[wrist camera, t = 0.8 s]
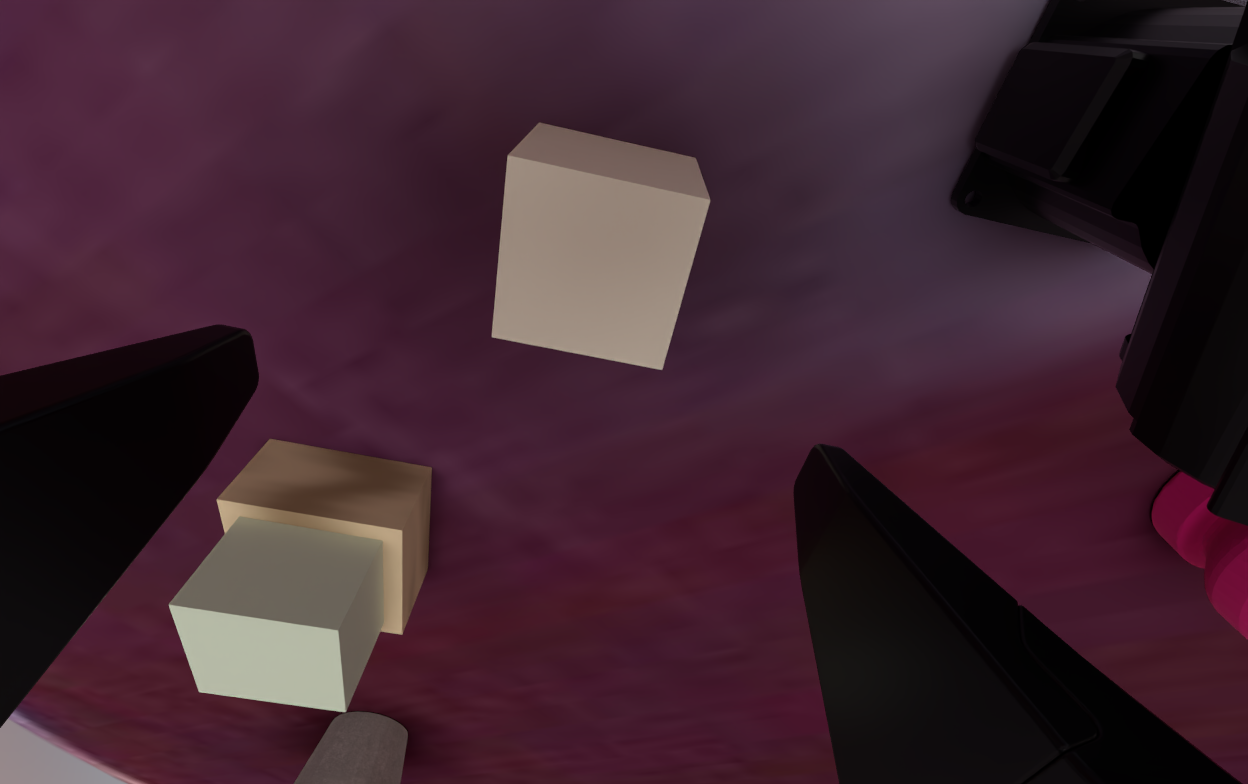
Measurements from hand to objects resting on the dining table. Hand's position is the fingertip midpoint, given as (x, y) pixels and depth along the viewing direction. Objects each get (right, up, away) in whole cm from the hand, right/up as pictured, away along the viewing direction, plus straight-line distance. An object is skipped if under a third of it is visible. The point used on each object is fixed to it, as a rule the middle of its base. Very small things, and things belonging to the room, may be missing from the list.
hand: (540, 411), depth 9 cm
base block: (-11, -5, +18) cm, 22 cm away
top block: (-12, -7, +15) cm, 20 cm away
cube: (+1, +6, +10) cm, 12 cm away
